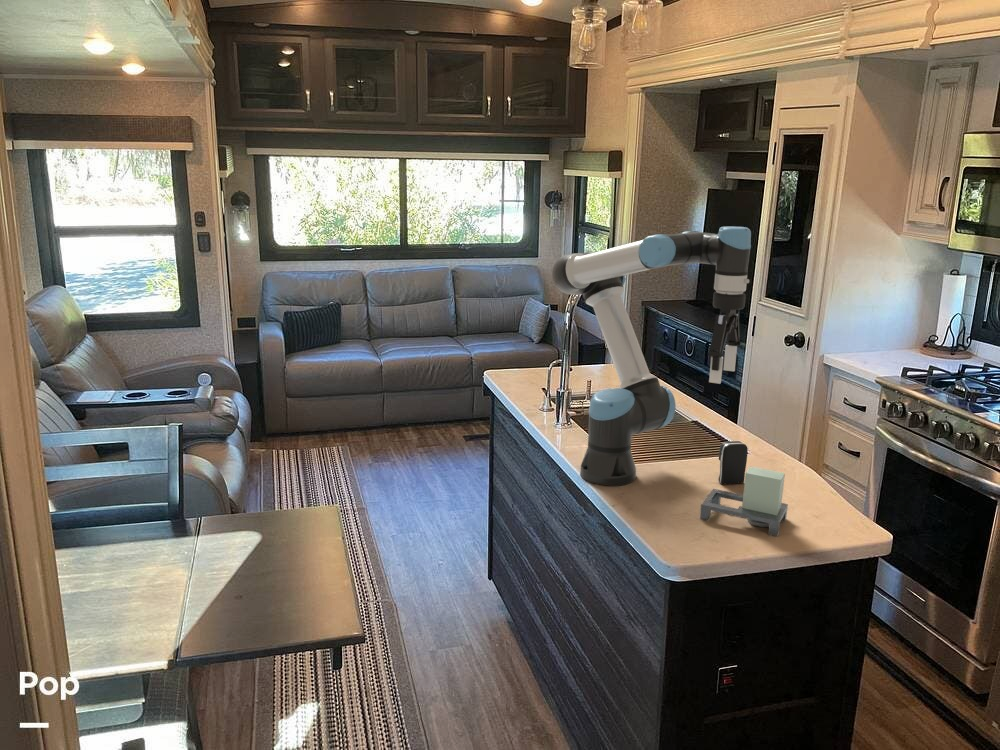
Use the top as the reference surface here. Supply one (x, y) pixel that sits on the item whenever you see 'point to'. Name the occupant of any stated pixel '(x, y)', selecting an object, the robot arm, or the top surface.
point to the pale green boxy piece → (763, 492)
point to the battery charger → (732, 462)
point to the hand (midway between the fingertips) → (722, 376)
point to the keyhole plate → (741, 510)
